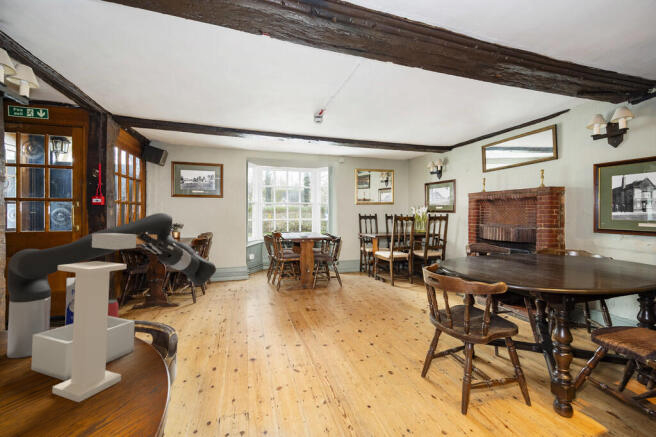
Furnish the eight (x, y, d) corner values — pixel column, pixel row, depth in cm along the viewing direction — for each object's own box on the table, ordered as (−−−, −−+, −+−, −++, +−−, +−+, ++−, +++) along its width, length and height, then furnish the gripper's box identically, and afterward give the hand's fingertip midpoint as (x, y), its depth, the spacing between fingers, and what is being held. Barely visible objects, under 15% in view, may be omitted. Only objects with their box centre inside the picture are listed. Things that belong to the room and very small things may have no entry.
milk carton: (87, 324, 116) (89, 275, 116) (89, 329, 111) (91, 278, 111) (64, 328, 111) (66, 277, 111) (64, 333, 106) (67, 280, 106)
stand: (49, 392, 71) (55, 265, 72) (93, 372, 81) (98, 260, 81) (81, 403, 67) (87, 269, 68) (123, 381, 77) (128, 264, 77)
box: (31, 369, 81) (32, 334, 81) (102, 343, 99) (103, 314, 99) (64, 380, 76) (66, 343, 76) (133, 351, 94) (134, 321, 94)
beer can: (105, 336, 104) (106, 304, 105) (91, 334, 106) (92, 302, 106) (121, 330, 111) (123, 299, 111) (108, 328, 112) (109, 298, 112)
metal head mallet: (91, 247, 83) (92, 233, 83) (143, 243, 98) (143, 232, 98) (115, 249, 80) (115, 235, 80) (164, 245, 95) (165, 233, 95)
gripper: (165, 246, 109) (127, 223, 95) (193, 248, 104) (158, 225, 90) (156, 264, 105) (115, 243, 91) (184, 267, 100) (146, 246, 86)
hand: (136, 234), depth 91 cm, fingers closed on metal head mallet, 2 cm apart
